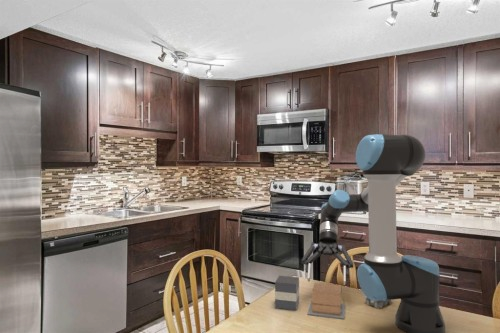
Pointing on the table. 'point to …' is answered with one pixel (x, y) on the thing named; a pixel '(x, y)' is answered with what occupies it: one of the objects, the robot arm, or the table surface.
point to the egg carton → (376, 302)
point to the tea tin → (287, 293)
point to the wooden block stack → (326, 299)
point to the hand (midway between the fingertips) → (326, 281)
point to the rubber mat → (342, 314)
